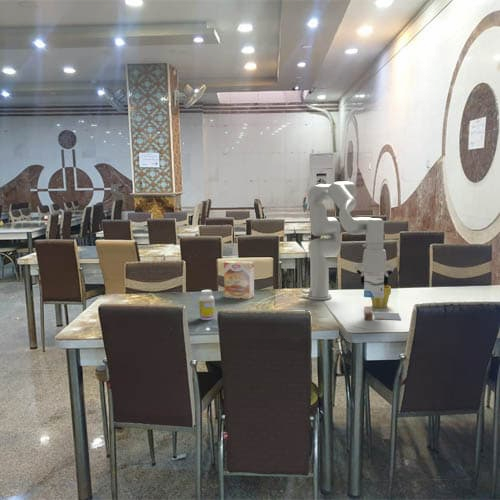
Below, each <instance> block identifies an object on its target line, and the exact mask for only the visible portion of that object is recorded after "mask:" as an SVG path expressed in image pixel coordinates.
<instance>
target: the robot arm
mask: <svg viewBox="0 0 500 500" xmlns="http://www.w3.org/2000/svg"><path fill="white" fill-rule="evenodd" d="M357 194H358V189H357V186H356V184H354V182H351V181H334V182H332V183H330V184H328V183H327V184H325V183H322V184H320V183H319V184H316V185H315V184H314V185H313V186H311V187H310V188H309V189H308V192H307V202H308V206H309V215H310V219H309V220H310V231H311V235H313V236H315V237H321V238H315V239H312V240H310V241H309V244H308V255H309V260H310V262H309V264H310V268H309V270H310V272H309V273H310V275H309V276H310V288H308V289H301V290H302V291H301V294H304V295H307V299H309V300H313V301H314V300H315V301H326V300H327V301H328V300H331V299H332V295H331V294H329V291H330V290H329V288H330V287H329V285H330V284H329V282H330V281H329V278H330V277H329V275H330V273H329V263H328V260H327V259H326V257H331V256H332V257H333V256H338V254H339V253H340V252H341V248H342V241H341V239H342V238H341V234H342V233H341V227H342V228H343V229H344V231H345V232H346V233H348V234H349V235H353V236H354V235H365V243H362V248H365V249H363V250H364V251H363V256H362V262H360V263H358V264H356V265H354V269H355V271H356V273H357V274H358V275H359V276H360V283H361V284H362V286H364V273H365V272H369V273H379V272H384V285H385V286H387V285H388V284H389V277H390V276H391V274H392V273H393V272H394V270H395V266H394V265H393V264H390V263H388V261H387V252H386V251H387V250H386V249H384V242H385V241H384V235H385V234H384V233H385V230H384V228H385V223H384V220H383V219H382V218H373V217H369V216H368V217H366V216H365V217H352V215H351V214H350V213H351V212H352V211H354V209H355V208H356V206H357V200H356V199H355V198H356V196H357ZM324 202H334V204H335V205H336V206H337V208H338V209H339V212H338V219H339V220H338V219H337V218H335V217H328V215H327V214H328V213H327V207H326V206H325V204H324ZM323 237H324V238H323ZM325 237H326V238H325ZM360 267H362V271H361V270H360V269H359V268H360ZM387 267H388V268H389V270H388V269H387ZM387 270H388V271H387Z"/></svg>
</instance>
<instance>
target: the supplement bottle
mask: <svg viewBox="0 0 500 500" xmlns="http://www.w3.org/2000/svg"><path fill="white" fill-rule="evenodd" d="M200 293H201V295H200V296H199V299H198V300H199V318H200V320H202V321H210V320H214V319H215V317H216V316H215V315H216V314H215V311H216V310H215V297H214V296H213V295H212V294H213V291H212V289H203V290H201V292H200Z"/></svg>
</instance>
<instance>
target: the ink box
mask: <svg viewBox="0 0 500 500" xmlns="http://www.w3.org/2000/svg"><path fill="white" fill-rule="evenodd" d="M384 276H385V274H384V272H379V273H369V272H365V273H364V285H363V286H364V287H363V297H364V298H371V297H372V298H384Z"/></svg>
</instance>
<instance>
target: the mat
mask: <svg viewBox="0 0 500 500" xmlns="http://www.w3.org/2000/svg"><path fill="white" fill-rule="evenodd" d="M373 316H374V317H373V318H374V320H377V321H379V320H380V321H381V320H383V321H384V320H386V321H402V318H401V316H400V313H398V312H397V313H395V312H373Z"/></svg>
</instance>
